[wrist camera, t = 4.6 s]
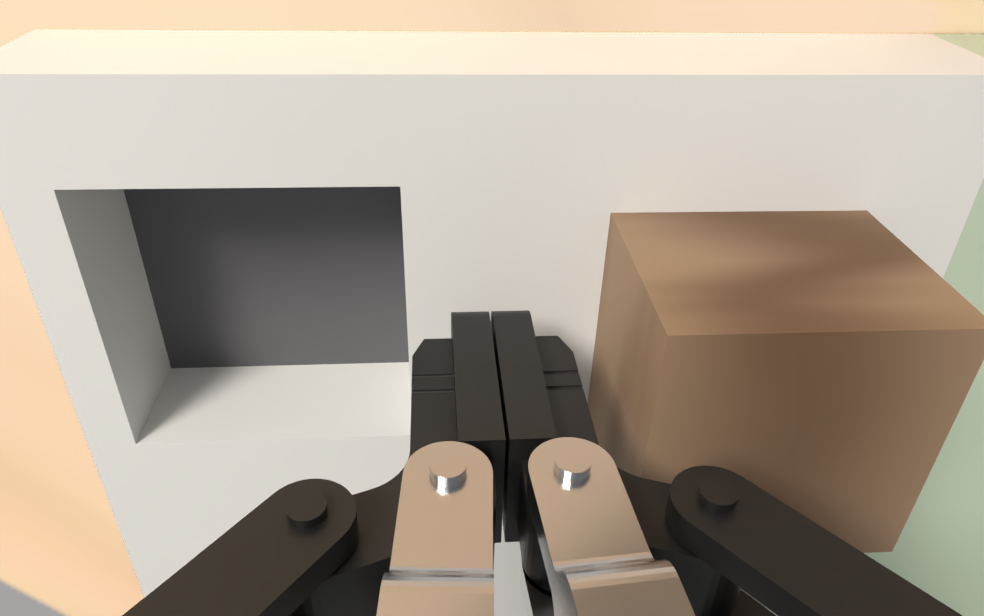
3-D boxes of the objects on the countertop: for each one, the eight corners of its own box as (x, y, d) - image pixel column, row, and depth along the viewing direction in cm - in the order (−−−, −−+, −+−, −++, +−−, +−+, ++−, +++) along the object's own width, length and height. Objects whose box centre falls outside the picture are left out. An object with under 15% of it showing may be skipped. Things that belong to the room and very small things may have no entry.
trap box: (1240, 35, 16) (1522, 111, 12) (968, 535, 25) (1076, 679, 21) (33, 29, 14) (-127, 115, 10) (195, 569, 23) (144, 734, 19)
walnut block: (866, 210, 14) (998, 328, 11) (802, 409, 17) (892, 551, 14) (610, 212, 14) (667, 335, 11) (585, 415, 17) (625, 563, 13)
